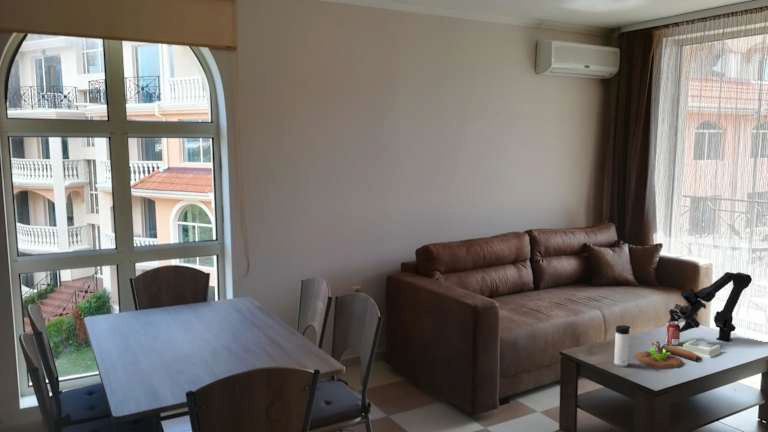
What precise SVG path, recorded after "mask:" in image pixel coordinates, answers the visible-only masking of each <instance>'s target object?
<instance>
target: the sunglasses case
mask: <svg viewBox="0 0 768 432" xmlns="http://www.w3.org/2000/svg"><path fill="white" fill-rule="evenodd" d="M663 349H664V350H666V352H665V353H670V354H672V355H674V356H678V357H683V358H686V359H689V360H692V361H695V363H698V362H699V361H701V360H703V358H704V357H703V358H702V357H701V355H697V354H695V353H693V352H692V351H689V350H685V349H682V348H681V347H678V346H676V345H675V346H674V345H670V348H668V347H667V345H665V346H664V347H663Z"/></svg>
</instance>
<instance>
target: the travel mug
mask: <svg viewBox="0 0 768 432" xmlns="http://www.w3.org/2000/svg"><path fill="white" fill-rule="evenodd" d="M630 329H631V326H629V325H625V324H624V325H621V324H620V325H617V326H616V327H615V335H614V336H615V337H614V338H615V341H614V358H613V359H614V361H613V364H614V365H615V366H616V367H620V368H627V367H629V363H628V362H629V351H630V350H629V347H630Z"/></svg>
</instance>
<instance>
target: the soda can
mask: <svg viewBox="0 0 768 432" xmlns="http://www.w3.org/2000/svg"><path fill="white" fill-rule="evenodd" d="M680 329H681V325H680V322H679V321H678V322H674V321H667V324H666V326H665V344H669V345H670V346H675V347H676V346H678V345H680V337H681V333H680V332H679V330H680Z"/></svg>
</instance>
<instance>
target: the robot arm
mask: <svg viewBox="0 0 768 432" xmlns="http://www.w3.org/2000/svg"><path fill="white" fill-rule="evenodd" d="M752 281H753V279H752V275H750V274H747V273H744V272H740V271H739V272H730V271H726V272H725V273H724V274H723V275H721V276H720V277H719V278H718V279H716V280H715V281H714V282H713V283H711V284H710V285H708V286H705V287H702V288H700V289H699V290H698V291H695V290H694V289H693V288H692V287H688V288H686V289H684V290H681V292H680V296H681V298H682V299H683V300H684V301H685V302H686V304H687V303H688V305H681V304H679V303H675V305H674V307H673V308H670V309H669V311H668V313H669V316H670V319H669V321H674V322H678V323H679V321H680V320H684V321H685V322H684V324H683V325H682V326H680V330H679V332H680V334H681V333H683V332H686V331H689V330H692V329H698V328H699V327H700V325H701V323H700V322H699V320H698V319H697V318H696V317H697V316H698V312H699V311H700V310H701V309H704V310H705V309H707V305H706V303H710V302H712V301H713V300H714V298H715V297H716V294H718V292H720V291H721V290H722V289H724V288H725V287H726V286H727V285H729V284H730V283H731V282H732V285H733V286H732V289H731V290H730V292H729V295H728V297H727V299H726V301H725V304H724V306H723V307H722V310H720V311H719V310H718V311H716V313H715V315H714V316H713V318H714V319H713V322H714V324H715V327H716V328H719V329H718V337H716V338H715V339H716V340H718V341H722V342H725V343H729V342H732V341H733V338H732V332H735V330H736V326H735V324H733V319H734V318H733V317H734V316H733V313H734V310H735V308H736V306H737V305H738V302H739V299H740V298H741V296H742V293H743V291H744V290H746V289H747V288H748V287H749V286H750V284H751V283H752ZM669 321H668V322H669Z"/></svg>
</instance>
